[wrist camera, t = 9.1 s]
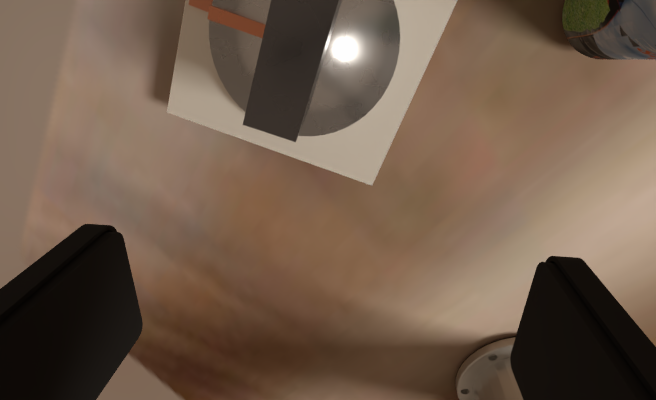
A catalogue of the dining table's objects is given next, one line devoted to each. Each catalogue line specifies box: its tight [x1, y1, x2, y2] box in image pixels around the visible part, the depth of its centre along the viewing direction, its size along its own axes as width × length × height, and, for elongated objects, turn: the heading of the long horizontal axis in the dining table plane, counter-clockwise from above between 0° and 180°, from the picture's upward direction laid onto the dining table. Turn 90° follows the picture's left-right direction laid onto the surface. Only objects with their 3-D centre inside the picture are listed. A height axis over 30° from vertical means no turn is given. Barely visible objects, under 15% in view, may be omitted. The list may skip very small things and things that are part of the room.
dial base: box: [167, 0, 457, 185], centre depth 27 cm, size 16×16×2 cm
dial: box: [208, 0, 400, 142], centre depth 23 cm, size 12×12×7 cm
